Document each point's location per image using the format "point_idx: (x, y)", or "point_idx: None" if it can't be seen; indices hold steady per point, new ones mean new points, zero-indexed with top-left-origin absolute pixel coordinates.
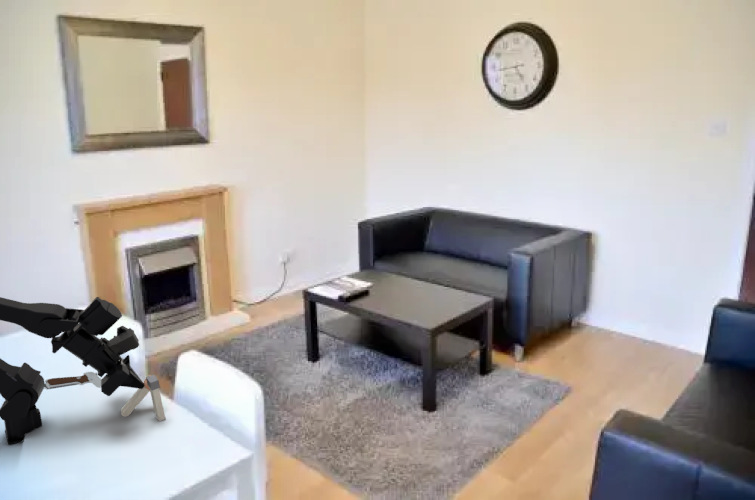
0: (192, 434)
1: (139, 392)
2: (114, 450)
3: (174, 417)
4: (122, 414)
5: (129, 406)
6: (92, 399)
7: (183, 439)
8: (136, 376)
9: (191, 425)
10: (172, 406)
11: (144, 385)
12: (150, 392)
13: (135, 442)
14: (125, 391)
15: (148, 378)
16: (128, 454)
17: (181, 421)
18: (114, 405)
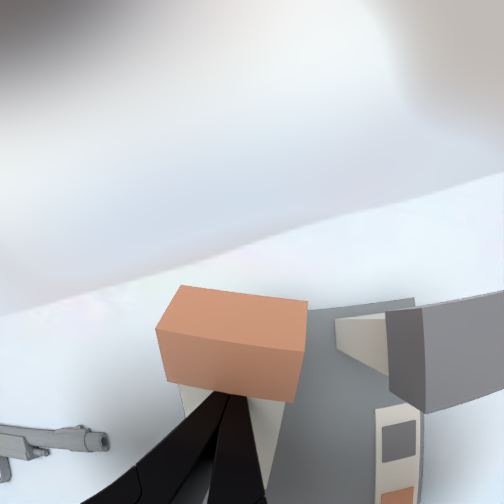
0: (477, 238)
1: (255, 427)
2: (449, 498)
3: (336, 269)
4: (265, 486)
5: (270, 468)
6: (40, 485)
7: (495, 272)
8: (216, 480)
9: (424, 225)
10: (233, 256)
11: (256, 397)
12: (373, 368)
13: (445, 437)
14: (28, 382)
15: (477, 384)
16: (494, 453)
17: (381, 251)
18: (103, 455)
